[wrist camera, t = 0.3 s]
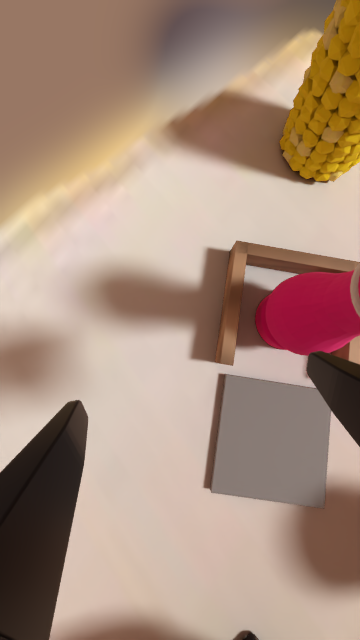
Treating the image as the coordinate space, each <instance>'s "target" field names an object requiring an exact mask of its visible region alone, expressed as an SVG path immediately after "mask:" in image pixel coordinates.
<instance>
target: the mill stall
mask: <svg viewBox="0 0 360 640" xmlns="http://www.w3.org/2000/svg"><path fill="white" fill-rule="evenodd" d="M359 263H360V262H356V261H350V260H344V259H339V258H333V257H327V256H321V255H316V254H310V253H304V252H299V251H293V250H287V249H282V248H276V247H270V246H264V245H259V244H253V243H247V242H242V241H236V243H235V244H234V246H233V247H232V249H231V251H230V256H229V263H228V270H227V278H226V285H225V292H224V300H223V307H222V314H221V322H220V329H219V336H218V344H217V351H216V358H215V362H216V363H220V364H226V365H232V366H233V362H234V355H235V347H236V339H237V331H238V323H239V315H240V307H241V299H242V291H243V283H244V275H245V267H246V265H252V266H258V267H264V268H269V269H275V270H281V271H287V272H293V273H298V274H303V273H310V272H327V273H345V272H349V271H352V270H355V268H356V267H357V265H358V264H359ZM331 354H332V355H334V356H337V357H340V358H343V359H346V360H349V361H351V362H354V363H357V364H360V336H357V337H355V338H354V339H352V340H351V341H350V342H348V343H347V344H346V345H344V346H343V347H342V348H340V349H338V350H335V351H333V352H331Z"/></svg>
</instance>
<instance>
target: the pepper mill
mask: <svg viewBox="0 0 360 640" xmlns="http://www.w3.org/2000/svg"><path fill="white" fill-rule="evenodd" d="M255 322H256V327H257V330H258V332H259V334H260V336H261V337H262V339H263V340H264V341H265V342H266V343H268V344H269V345H271V346H273V347H275V348H278V349H282V350H288V351H291V352H293V353H296V354H300V355H307V356H309V354H310V353H311V352H316V351H323V352H326V353H330V352H333V351H335V350H338V349H340V348H342V347H343V346H344V345H346V344H347V343H348V342H350V341H351V340H352V339H354V338H355V337H357V336H360V263H359V264H358V265H357V267H356V268H355V270H352V271H349V272H345V273H327V272H310V273H303V274H299V275H296V276H294V277H291V278H289V279H287V280H285V281H283V282H282V283H280V284H279V285H278V286H277V287H276V288H275V289H274V290H273V292H272V293H271V294H270V295H268V296H267V297H265V298H264V299H263V300H262V301H261V303H260V304H259V306H258V308H257V311H256V316H255Z"/></svg>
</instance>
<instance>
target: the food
mask: <svg viewBox="0 0 360 640" xmlns="http://www.w3.org/2000/svg"><path fill="white" fill-rule="evenodd" d="M293 102H294V108H292V109H291V110H290V113H289V117H288V118H287V122H286V123H285V126H284V130H283V133H282V134H283V135H284V136H283V137H282V138H281V140H280V141H279V142H280V146H281V149H282V150H285V151H284V153H283V157H284V158H285V159H286V160H287V162H288V163H289V165H290V167H291V169H292V170H293V171H300V176H302V177H304V178H306V179H309V178H311V177H313V178H314V179H315V180H316V181H327V180H330V181H333V182H334V181H335V180H336V179H337V178H338V177H339V176H341V175H342V174H344V173H345V172H347V171H349V170H350V168H351V167H352V166H354V165H356V164H357V163H359V162H360V0H336V2H335V5H334V9H333V11H332V13H331V14H330V15H329V16H328V18H327V19H326V20H325V26H324V34H323V36H322V37H321V38H320V40H319V41H318V43H317V48H316V49H315V50H314V52H313V53H312V60H311V66H310V67H309V68H308V69H307V70H306V71H305V74H304V81H303V84H302V85H301V87H300V88H299V92H298V94H297V96H296V97H295V99H294V100H293Z"/></svg>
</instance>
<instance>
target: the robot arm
mask: <svg viewBox="0 0 360 640" xmlns="http://www.w3.org/2000/svg"><path fill="white" fill-rule="evenodd" d="M307 373H308V375H309V377H310V378H311V380H312V382H313V383H314V385H315V386H316V388H317V389H318V391H319V393H320V394H321V396H322V397H323V399H324V400H325V402H326V404H327V405H328V406H329V408H330V409H331V411H332V412H333V413H334V415H335V416H336V417H337V418H338V420H339V421H340V422H341V424H342V425H343V426H344V427H345V429H346V430H347V431H348V433H349V434H350V435H351V436H352V438H353V439H354V440H355V442H356V443H357V444H358V445H359V447H360V364H357V363H354V362H351V361H349V360H346V359H343V358H340V357H337V356H334V355H332V354H329V353H326V352H323V351H316V352H311V353H310V354H309V356H308V363H307ZM87 428H88V416H87V413H86V411H85V409H84V406H83V404H82V402H81V401H80V400H75V401H70V402H68V403H67V404H66V405H65V406H64V407H63V408H62V409H61V410H60V411H59V412H58V413H57V414H56V415H55V416H54V417H53V418H52V419H51V420H50V421H49V422H48V423H47V424H46V426H45V427H44V428H43V429H42V430H41V431H40V432H39V433H38V434H37V435H36V436H35V437H34V438H33V439H32V440H31V441H30V442H29V443H28V444H27V445H26V446H25V447H24V448H23V450H22V451H21V452H20V453H19V454H18V455H17V456H16V457H15V458H14V459H13V460H12V461H11V462H10V463H9V464H8V465H7V466H6V467H5V468H4V469H3V470H2V471H1V472H0V640H49V637H50V632H51V627H52V622H53V617H54V612H55V607H56V602H57V597H58V592H59V587H60V582H61V577H62V572H63V567H64V562H65V557H66V552H67V547H68V542H69V537H70V532H71V527H72V522H73V517H74V512H75V507H76V502H77V497H78V492H79V487H80V482H81V477H82V472H83V466H84V460H85V450H86V439H87ZM244 640H258V638H257V637H256V636H255V635H254V634H249V635H248V636H247V637H246V638H245V639H244Z"/></svg>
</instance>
